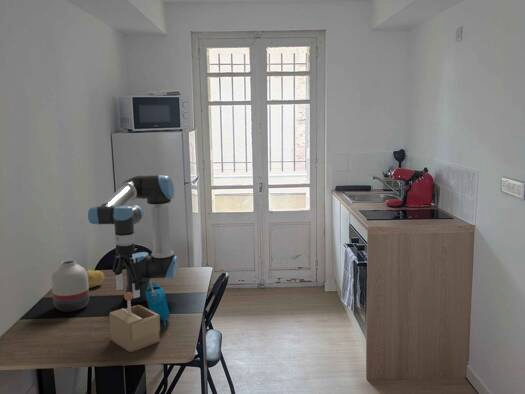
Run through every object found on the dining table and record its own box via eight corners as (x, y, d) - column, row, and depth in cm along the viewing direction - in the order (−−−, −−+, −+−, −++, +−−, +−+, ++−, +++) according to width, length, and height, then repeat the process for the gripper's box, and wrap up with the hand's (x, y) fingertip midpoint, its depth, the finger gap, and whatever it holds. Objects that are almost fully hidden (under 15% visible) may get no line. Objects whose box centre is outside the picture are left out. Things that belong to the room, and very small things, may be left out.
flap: (109, 313, 218) (108, 290, 216) (124, 309, 222) (122, 286, 220) (128, 324, 206) (126, 300, 205) (143, 319, 211) (141, 295, 209)
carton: (110, 339, 220) (108, 313, 218) (140, 329, 230) (138, 304, 228) (130, 353, 208) (129, 325, 206) (161, 341, 218) (160, 314, 216)
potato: (79, 285, 289) (77, 268, 287) (105, 283, 291) (104, 267, 289) (75, 291, 279) (74, 274, 277) (103, 289, 281) (101, 272, 280)
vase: (66, 300, 266) (62, 256, 262) (96, 302, 263) (92, 257, 259) (46, 313, 250) (42, 266, 246) (78, 315, 247) (74, 268, 243)
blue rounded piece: (171, 327, 232) (169, 285, 228) (148, 330, 229) (145, 287, 225) (168, 313, 247) (166, 273, 244) (146, 315, 245) (144, 275, 241)
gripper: (102, 240, 216) (105, 288, 220) (132, 251, 198) (135, 303, 202) (118, 237, 221) (121, 284, 225) (149, 247, 204) (152, 298, 207)
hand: (128, 293), depth 213 cm, fingers open, 13 cm apart
